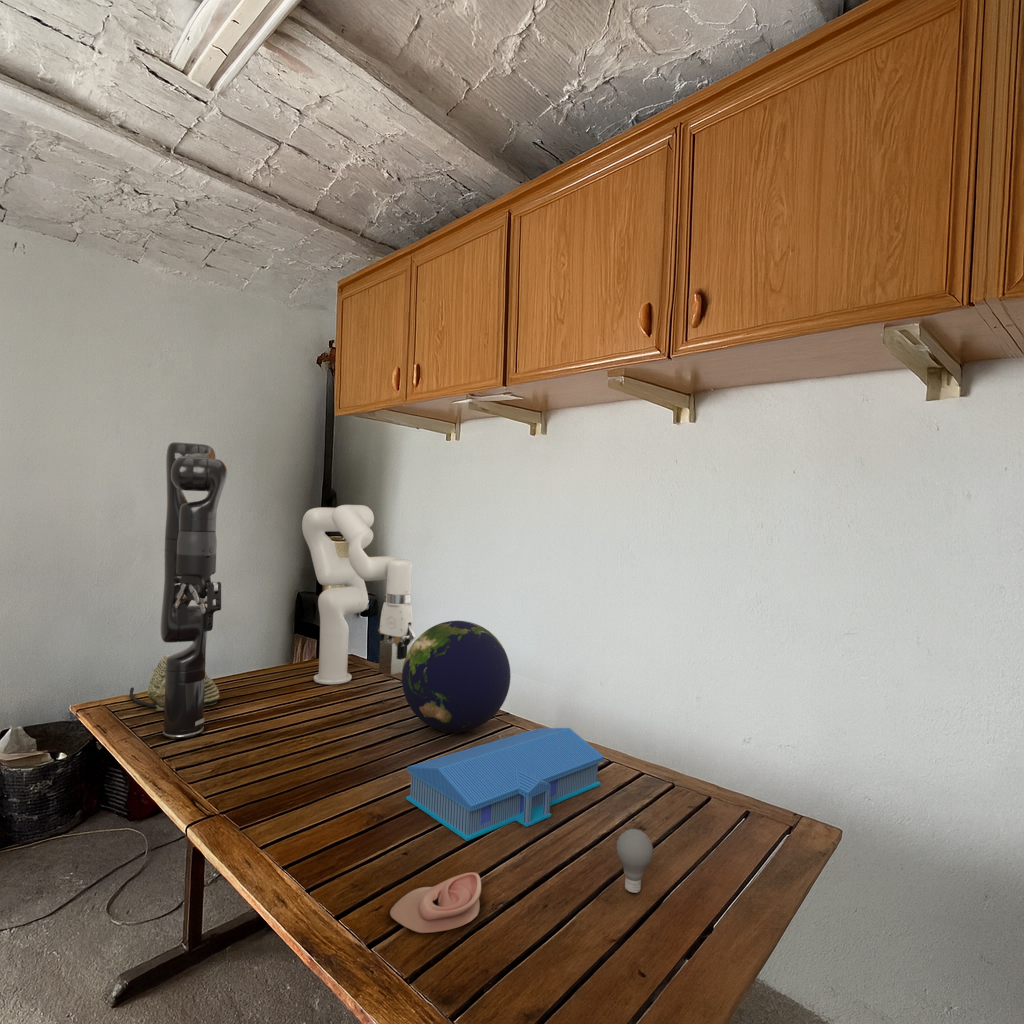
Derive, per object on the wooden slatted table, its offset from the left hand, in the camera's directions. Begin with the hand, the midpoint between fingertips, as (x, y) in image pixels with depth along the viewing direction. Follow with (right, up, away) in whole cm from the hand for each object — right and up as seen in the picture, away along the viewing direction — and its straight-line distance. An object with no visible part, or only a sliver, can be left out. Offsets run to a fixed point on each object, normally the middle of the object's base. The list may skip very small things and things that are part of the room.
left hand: (194, 628), depth 135 cm
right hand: (+31, -20, +63) cm, 73 cm away
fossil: (-28, -32, +50) cm, 66 cm away
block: (+31, -25, +63) cm, 74 cm away
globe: (+52, -36, +41) cm, 75 cm away
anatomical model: (+56, -37, -36) cm, 76 cm away
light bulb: (+88, -39, -29) cm, 100 cm away
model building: (+67, -37, +4) cm, 77 cm away
